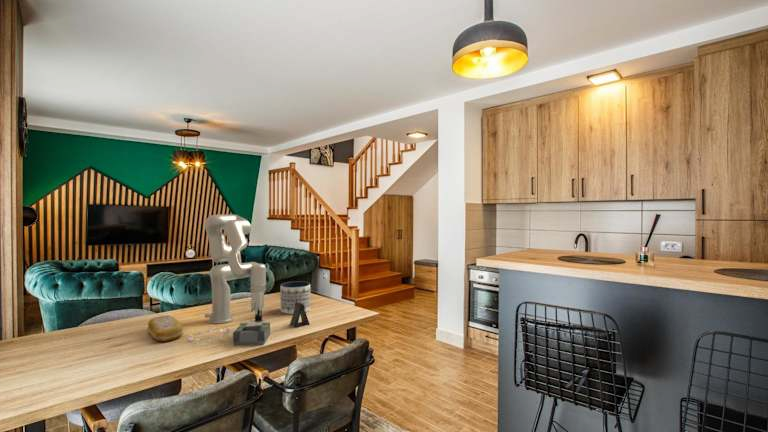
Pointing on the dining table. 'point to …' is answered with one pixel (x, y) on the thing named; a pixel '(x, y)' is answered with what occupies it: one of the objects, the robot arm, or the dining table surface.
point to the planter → (294, 296)
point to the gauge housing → (251, 335)
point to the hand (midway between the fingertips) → (258, 323)
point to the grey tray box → (254, 325)
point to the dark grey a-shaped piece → (297, 312)
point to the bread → (165, 328)
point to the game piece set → (208, 331)
